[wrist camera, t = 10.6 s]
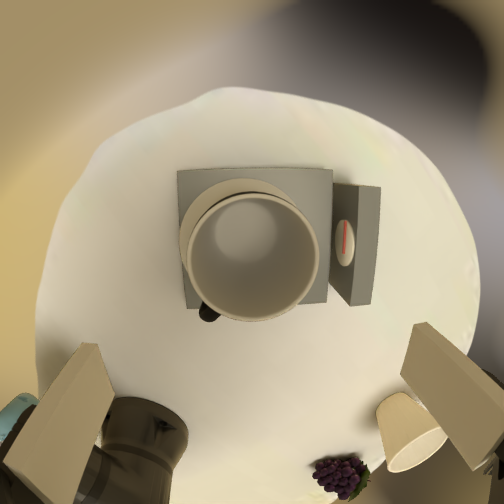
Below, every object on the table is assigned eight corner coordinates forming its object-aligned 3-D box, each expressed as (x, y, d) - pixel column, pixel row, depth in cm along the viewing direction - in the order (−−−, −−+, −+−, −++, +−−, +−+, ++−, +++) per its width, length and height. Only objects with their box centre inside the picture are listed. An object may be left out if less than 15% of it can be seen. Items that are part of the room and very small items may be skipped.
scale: (189, 299, 34) (180, 328, 27) (181, 171, 30) (167, 170, 23) (345, 292, 35) (368, 317, 28) (352, 171, 31) (381, 171, 24)
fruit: (322, 442, 47) (380, 453, 46) (300, 473, 48) (356, 482, 46) (327, 473, 37) (392, 481, 36) (301, 504, 38) (363, 510, 36)
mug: (231, 169, 27) (232, 165, 17) (307, 218, 29) (345, 240, 19) (170, 270, 29) (144, 315, 19) (243, 312, 31) (249, 369, 21)
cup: (351, 426, 43) (373, 476, 31) (386, 379, 40) (420, 429, 28) (395, 426, 44) (420, 467, 32) (428, 383, 42) (461, 423, 30)
